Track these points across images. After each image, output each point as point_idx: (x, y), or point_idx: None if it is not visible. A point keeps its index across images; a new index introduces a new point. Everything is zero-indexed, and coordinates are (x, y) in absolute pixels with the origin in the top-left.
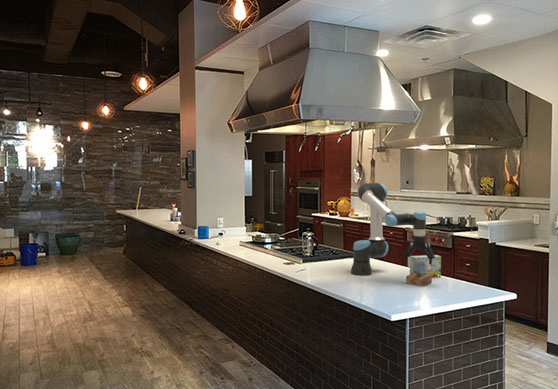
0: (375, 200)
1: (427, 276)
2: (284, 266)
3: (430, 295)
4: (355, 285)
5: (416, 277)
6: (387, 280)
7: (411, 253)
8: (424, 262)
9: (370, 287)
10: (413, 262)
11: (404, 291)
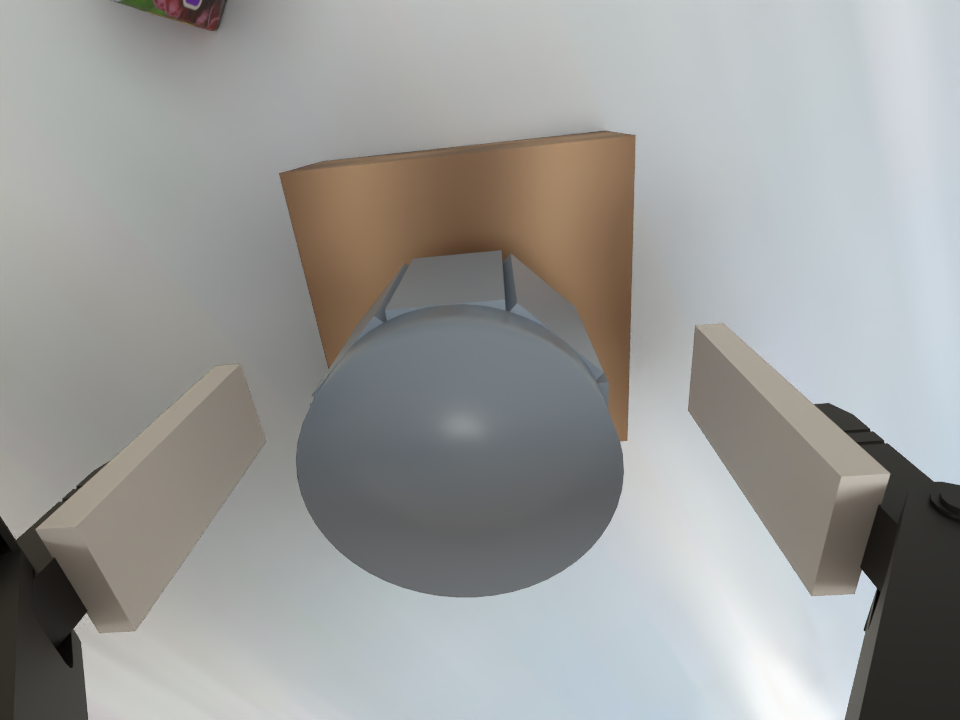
0: None
1: (601, 256)
2: None
3: (798, 618)
4: (155, 715)
5: None
6: (120, 410)
7: (49, 703)
8: (618, 448)
9: (276, 697)
10: None
11: (554, 642)
